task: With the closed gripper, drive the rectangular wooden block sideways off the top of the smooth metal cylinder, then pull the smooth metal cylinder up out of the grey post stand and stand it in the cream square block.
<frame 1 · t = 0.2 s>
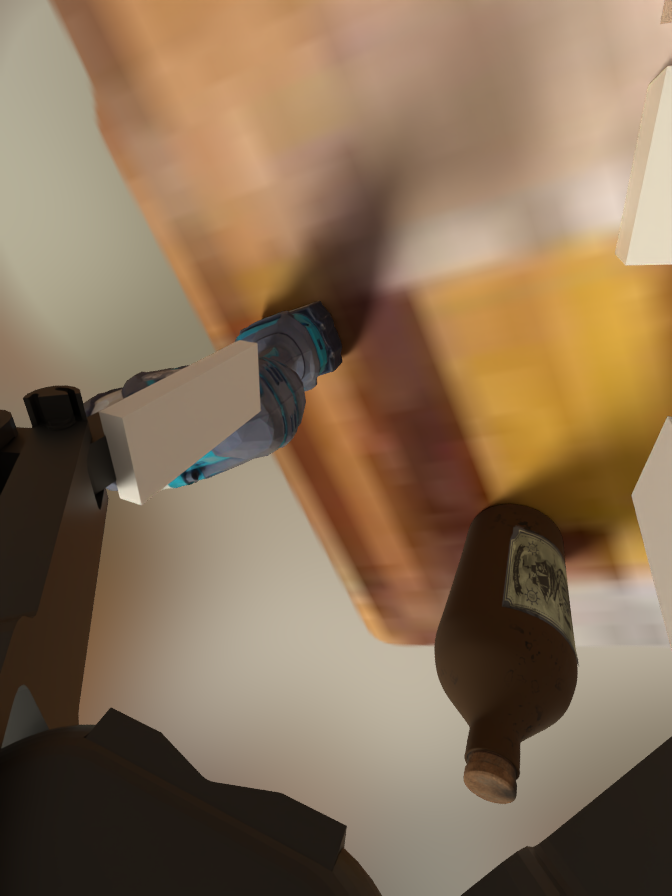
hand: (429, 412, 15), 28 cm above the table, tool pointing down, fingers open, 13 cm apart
olive oil: (515, 538, 49), on the table
impact wrench: (292, 344, 48), on the table
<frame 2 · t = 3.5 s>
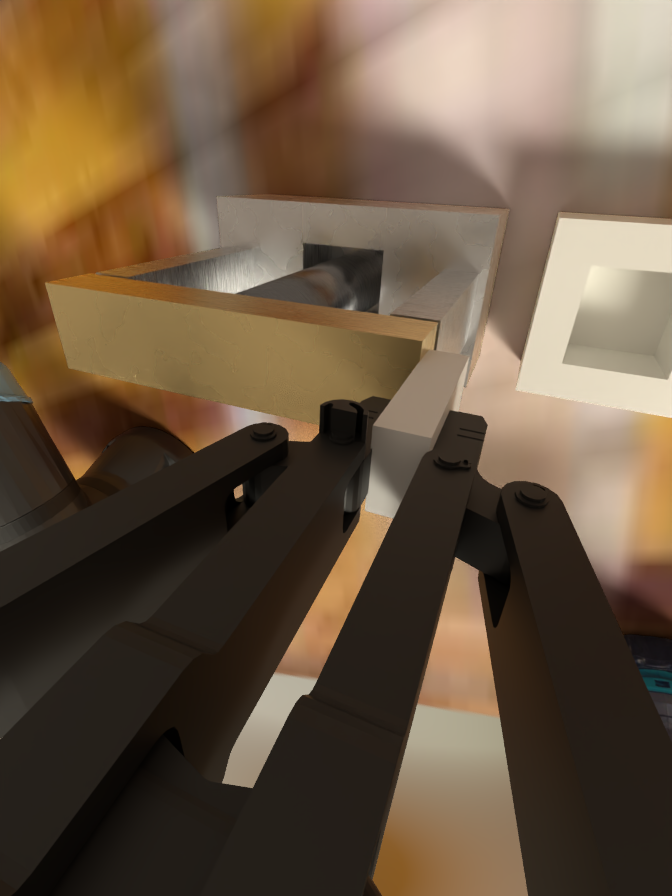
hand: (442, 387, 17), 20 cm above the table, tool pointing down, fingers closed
rectangular wooden block: (228, 348, 20), point 20 cm above the table, slide at 0.1 cm, touching gripper
smooth metal cylinder: (365, 278, 34), point 2 cm above the table, touching grey post stand
grey post stand: (373, 273, 36), on the table
impact wrench: (648, 674, 44), on the table
cream square block: (618, 301, 31), on the table
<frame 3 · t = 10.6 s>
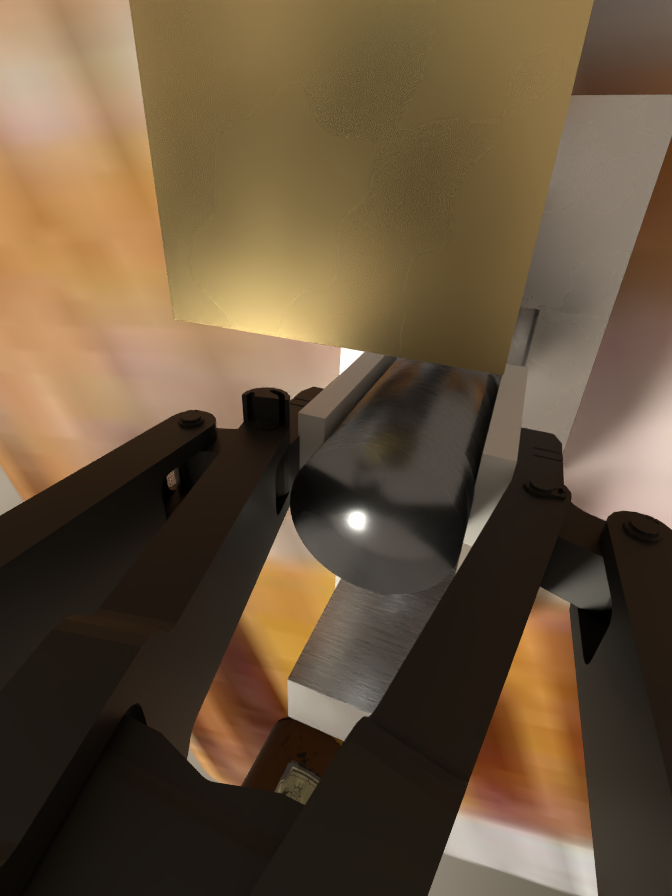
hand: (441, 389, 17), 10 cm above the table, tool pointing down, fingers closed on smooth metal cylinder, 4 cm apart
smooth metal cylinder: (470, 334, 23), point 2 cm above the table, touching gripper, grey post stand
grey post stand: (475, 324, 25), on the table
olive oil: (311, 744, 53), on the table
when the fingers open (12 cm above the table, at t = 19.0 s): smooth metal cylinder drops 2 cm, resting on cream square block.
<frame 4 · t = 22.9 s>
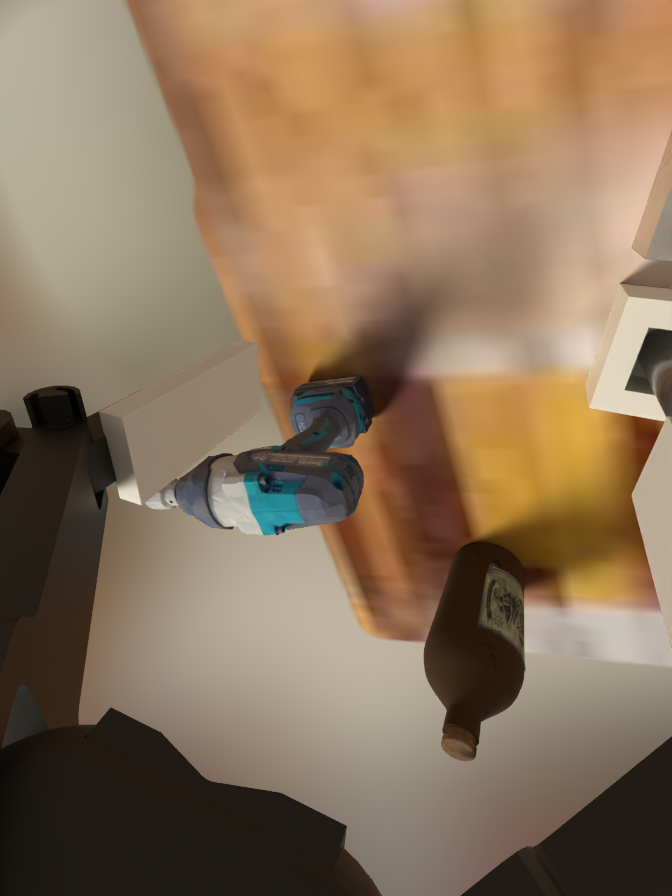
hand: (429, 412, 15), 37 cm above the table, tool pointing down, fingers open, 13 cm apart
smooth metal cylinder: (661, 349, 42), point 2 cm above the table, touching cream square block
olive oil: (488, 568, 63), on the table
impact wrench: (331, 401, 60), on the table
cream square block: (659, 345, 43), on the table
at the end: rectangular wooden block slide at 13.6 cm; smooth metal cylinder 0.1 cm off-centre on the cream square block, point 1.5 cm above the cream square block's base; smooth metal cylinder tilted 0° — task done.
